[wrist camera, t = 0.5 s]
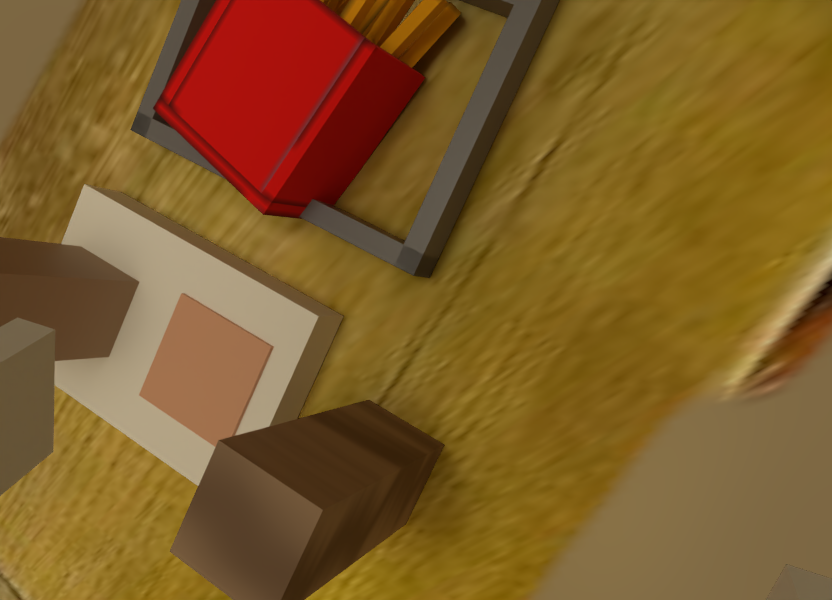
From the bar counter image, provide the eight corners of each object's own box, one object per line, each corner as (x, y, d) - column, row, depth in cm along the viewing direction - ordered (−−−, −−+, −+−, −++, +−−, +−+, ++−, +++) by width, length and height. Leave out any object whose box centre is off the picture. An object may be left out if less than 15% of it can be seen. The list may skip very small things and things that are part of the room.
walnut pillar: (368, 399, 41) (218, 439, 28) (444, 444, 39) (323, 509, 26) (332, 476, 42) (169, 551, 28) (405, 524, 40) (268, 626, 27)
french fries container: (228, 132, 46) (355, -70, 41) (327, 224, 43) (472, 19, 39) (146, 110, 39) (287, -132, 35) (257, 217, 37) (422, -30, 33)
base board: (120, 191, 47) (-168, 129, 31) (343, 316, 42) (129, 317, 26) (55, 355, 49) (-250, 375, 33) (261, 497, 43) (12, 603, 27)
